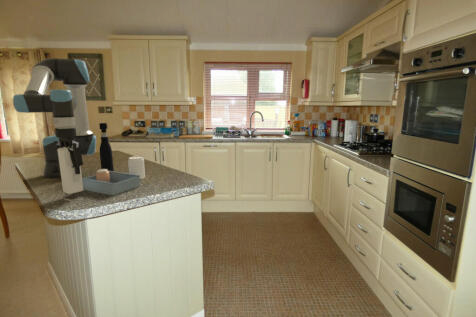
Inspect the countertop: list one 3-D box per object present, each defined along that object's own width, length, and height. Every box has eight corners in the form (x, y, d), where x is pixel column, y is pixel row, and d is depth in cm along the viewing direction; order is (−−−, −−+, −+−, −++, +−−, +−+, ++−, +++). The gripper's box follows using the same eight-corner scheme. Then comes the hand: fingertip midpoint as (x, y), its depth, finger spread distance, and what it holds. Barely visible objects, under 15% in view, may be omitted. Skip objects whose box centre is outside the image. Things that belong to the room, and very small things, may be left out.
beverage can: (140, 181, 145) (138, 159, 143) (126, 180, 147) (124, 158, 145) (147, 177, 153) (146, 156, 151) (135, 176, 155) (133, 155, 152)
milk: (77, 188, 124) (71, 140, 119) (83, 190, 120) (78, 141, 116) (62, 191, 119) (56, 141, 115) (68, 194, 116) (62, 143, 111)
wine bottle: (106, 176, 154) (101, 123, 148) (99, 175, 157) (94, 123, 152) (116, 174, 159) (111, 123, 154) (109, 173, 163) (105, 122, 157)
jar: (94, 186, 134) (92, 171, 132) (104, 182, 139) (102, 168, 138) (103, 187, 132) (101, 172, 130) (113, 184, 137) (111, 169, 136)
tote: (79, 190, 130) (78, 178, 129) (109, 181, 144) (108, 170, 143) (113, 197, 120) (111, 183, 119) (140, 187, 135) (139, 175, 134)
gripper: (41, 127, 115) (49, 179, 120) (71, 129, 106) (78, 185, 111) (59, 125, 121) (66, 175, 126) (89, 127, 113) (94, 180, 118)
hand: (71, 180), depth 119 cm, fingers closed on milk, 7 cm apart
